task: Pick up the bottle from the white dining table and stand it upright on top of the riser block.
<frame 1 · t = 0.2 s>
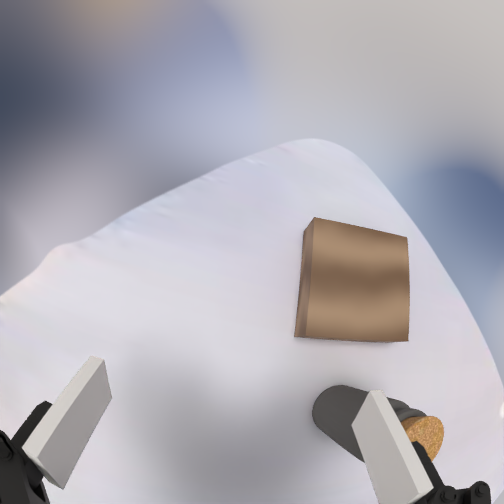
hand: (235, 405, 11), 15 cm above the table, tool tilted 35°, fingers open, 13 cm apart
riser: (349, 288, 30), on the table
bottle: (335, 408, 26), on the table
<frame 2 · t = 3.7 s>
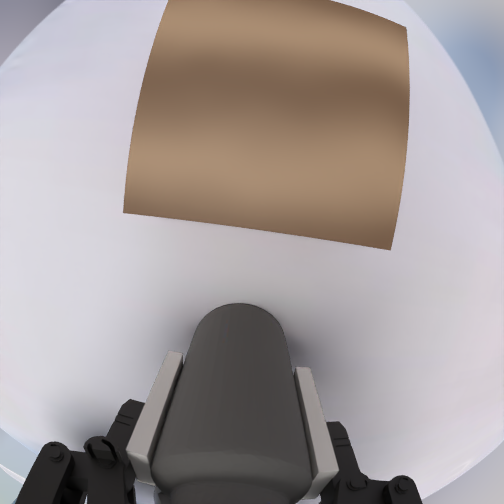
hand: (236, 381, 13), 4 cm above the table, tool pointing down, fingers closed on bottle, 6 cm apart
riser: (273, 112, 14), on the table
bottle: (239, 341, 17), on the table, touching gripper
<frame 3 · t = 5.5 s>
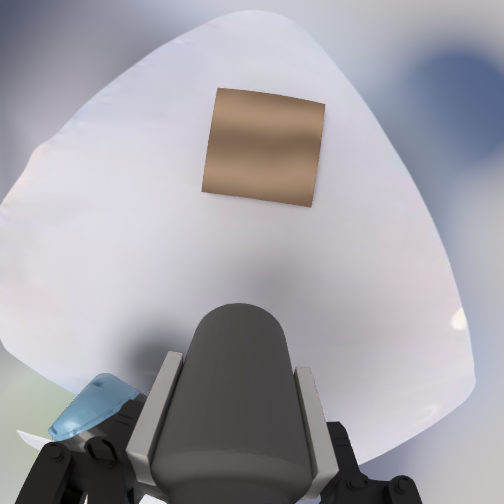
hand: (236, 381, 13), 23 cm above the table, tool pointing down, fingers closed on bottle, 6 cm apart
riser: (263, 148, 32), on the table
bottle: (239, 341, 17), point 18 cm above the table, touching gripper
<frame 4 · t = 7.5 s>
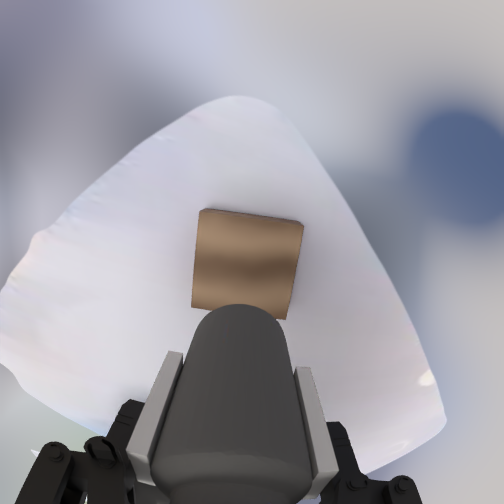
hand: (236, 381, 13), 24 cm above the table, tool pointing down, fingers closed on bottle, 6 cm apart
riser: (245, 259, 36), on the table
bottle: (239, 341, 17), point 20 cm above the table, touching gripper
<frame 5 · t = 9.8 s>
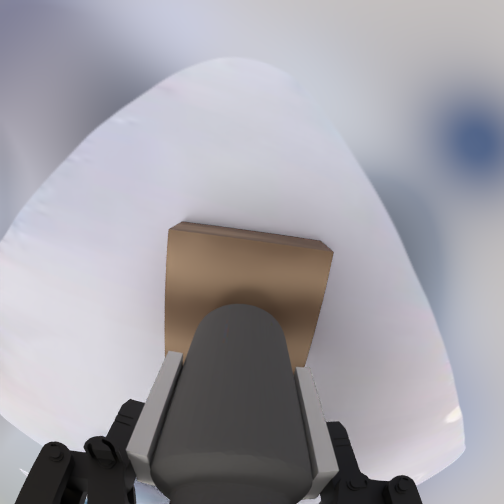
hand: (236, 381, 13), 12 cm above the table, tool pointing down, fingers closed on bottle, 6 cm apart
riser: (242, 296, 25), on the table
bottle: (239, 341, 17), point 8 cm above the table, touching gripper
when the fingers open (9 cm above the table, at t = 11.4 s): bottle stays where it is, resting on riser.
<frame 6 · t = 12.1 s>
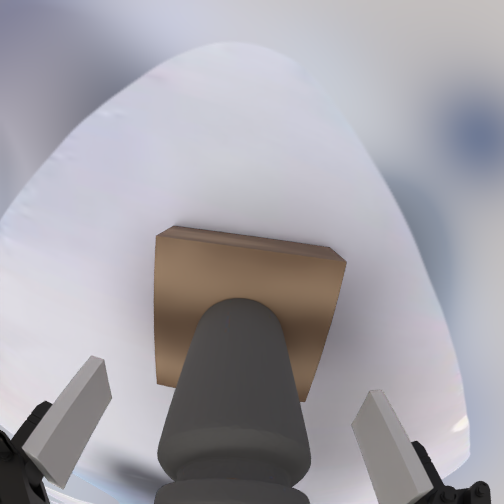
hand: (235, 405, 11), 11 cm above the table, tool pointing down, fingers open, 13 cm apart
riser: (241, 309, 22), on the table
bottle: (239, 334, 18), point 4 cm above the table, touching riser
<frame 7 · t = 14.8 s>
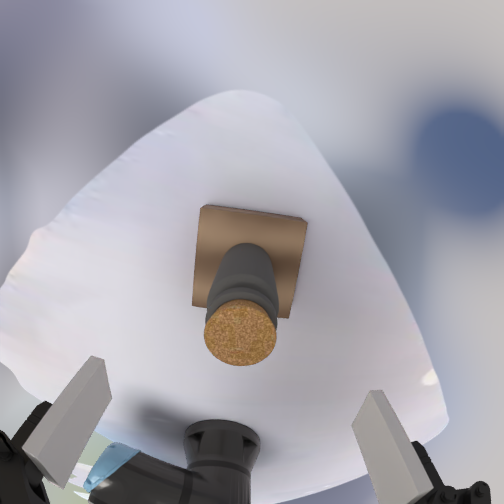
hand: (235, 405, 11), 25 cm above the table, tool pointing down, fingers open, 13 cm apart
riser: (247, 257, 35), on the table
bottle: (246, 266, 32), point 4 cm above the table, touching riser
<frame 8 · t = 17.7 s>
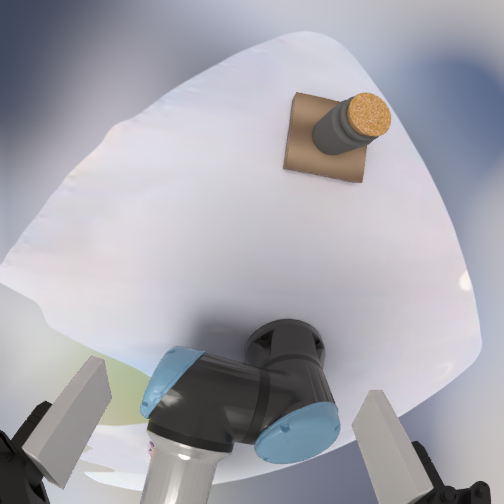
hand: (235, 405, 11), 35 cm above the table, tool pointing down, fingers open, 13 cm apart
riser: (324, 140, 41), on the table
bottle: (330, 136, 37), point 4 cm above the table, touching riser
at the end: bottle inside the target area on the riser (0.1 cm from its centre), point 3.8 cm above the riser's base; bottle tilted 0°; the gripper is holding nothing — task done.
